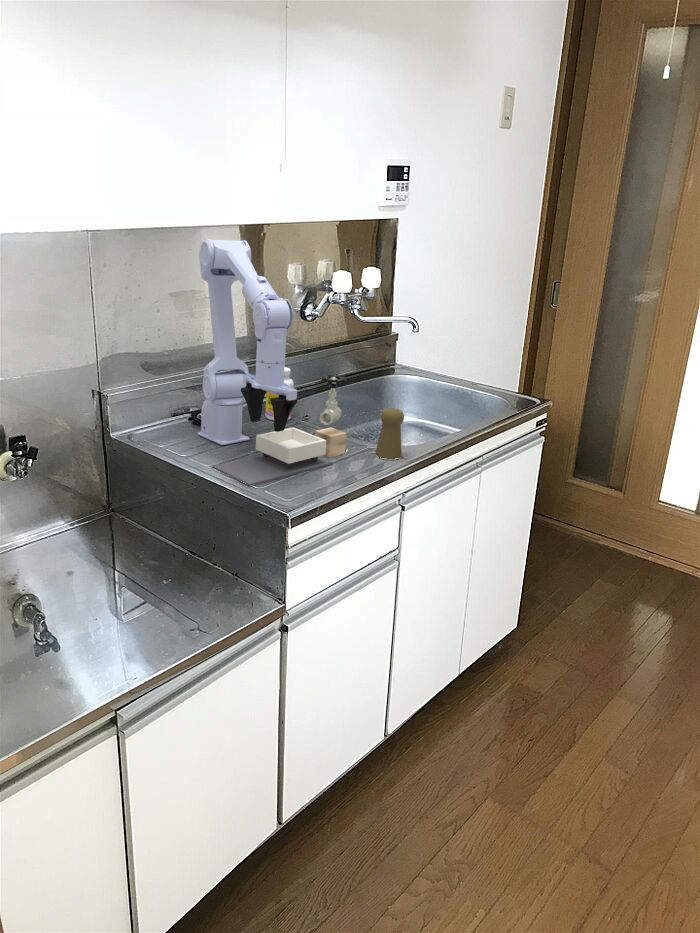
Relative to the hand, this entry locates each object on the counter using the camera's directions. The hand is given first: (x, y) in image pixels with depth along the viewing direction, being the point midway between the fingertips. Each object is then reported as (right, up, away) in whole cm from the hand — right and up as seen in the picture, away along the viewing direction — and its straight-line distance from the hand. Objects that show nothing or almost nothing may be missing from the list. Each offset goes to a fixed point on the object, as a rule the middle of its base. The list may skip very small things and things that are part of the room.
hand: (267, 425), depth 160 cm
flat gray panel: (+1, -8, +5) cm, 10 cm away
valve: (+12, +2, +38) cm, 40 cm away
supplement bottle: (-1, +4, +38) cm, 38 cm away
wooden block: (+12, -5, +16) cm, 21 cm away
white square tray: (+4, -8, +8) cm, 12 cm away
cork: (+26, -6, +18) cm, 32 cm away
